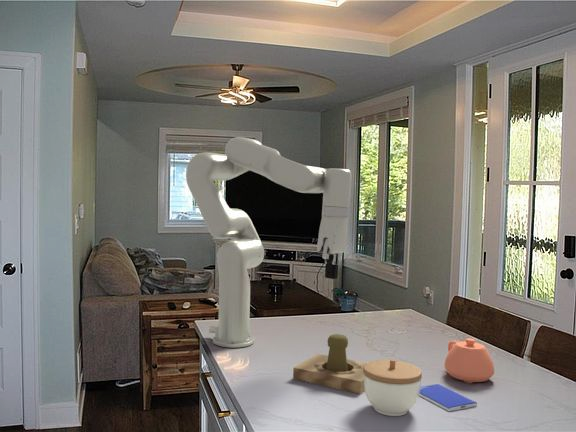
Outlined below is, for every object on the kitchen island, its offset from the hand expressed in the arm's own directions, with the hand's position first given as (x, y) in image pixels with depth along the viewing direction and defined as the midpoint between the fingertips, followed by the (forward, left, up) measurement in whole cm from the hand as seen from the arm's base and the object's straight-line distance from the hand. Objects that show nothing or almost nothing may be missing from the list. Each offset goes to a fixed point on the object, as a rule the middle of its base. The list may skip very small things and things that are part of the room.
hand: (331, 277), depth 154 cm
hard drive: (+35, -12, -24) cm, 44 cm away
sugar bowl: (+36, +7, -23) cm, 44 cm away
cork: (+8, -13, -23) cm, 28 cm away
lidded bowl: (+26, -25, -23) cm, 43 cm away
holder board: (+8, -13, -23) cm, 28 cm away
